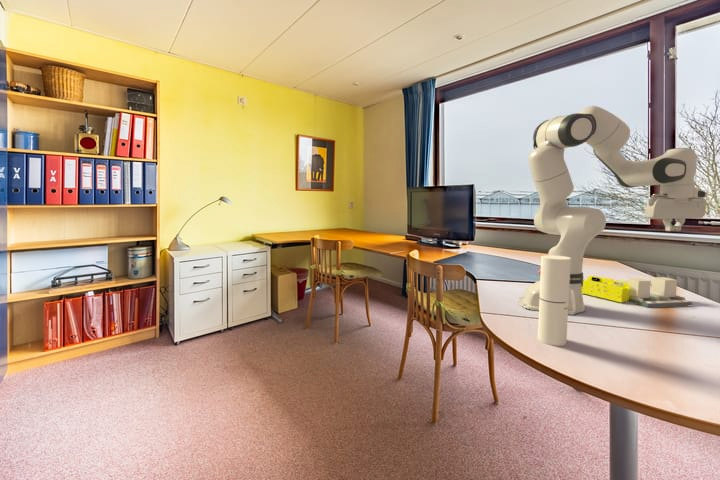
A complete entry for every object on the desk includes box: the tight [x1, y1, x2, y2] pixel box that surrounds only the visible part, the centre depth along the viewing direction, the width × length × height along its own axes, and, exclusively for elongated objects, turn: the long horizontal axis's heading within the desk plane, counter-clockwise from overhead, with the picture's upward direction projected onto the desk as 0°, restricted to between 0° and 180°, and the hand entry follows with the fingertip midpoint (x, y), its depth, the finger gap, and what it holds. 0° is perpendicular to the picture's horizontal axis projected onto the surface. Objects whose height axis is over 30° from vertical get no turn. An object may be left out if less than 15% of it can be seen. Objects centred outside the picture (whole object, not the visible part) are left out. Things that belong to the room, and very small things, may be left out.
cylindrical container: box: [537, 254, 571, 347], centre depth 88 cm, size 7×7×25 cm
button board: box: [627, 292, 693, 309], centre depth 121 cm, size 18×13×2 cm
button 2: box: [650, 276, 678, 297], centre depth 123 cm, size 5×6×7 cm
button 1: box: [626, 277, 652, 298], centre depth 122 cm, size 5×6×7 cm
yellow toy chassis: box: [582, 275, 630, 303], centre depth 127 cm, size 16×6×8 cm, turn 22°
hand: (672, 230), depth 113 cm, fingers closed
